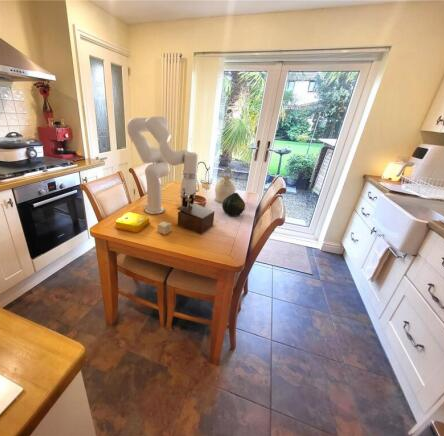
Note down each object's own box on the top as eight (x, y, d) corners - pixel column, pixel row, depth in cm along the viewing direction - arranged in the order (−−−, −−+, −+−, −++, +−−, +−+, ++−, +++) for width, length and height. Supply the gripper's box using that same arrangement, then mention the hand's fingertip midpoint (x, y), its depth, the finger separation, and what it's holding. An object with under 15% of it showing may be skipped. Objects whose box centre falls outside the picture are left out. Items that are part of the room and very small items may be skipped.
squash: (226, 212, 147) (242, 193, 146) (214, 204, 160) (229, 187, 159) (239, 223, 155) (253, 205, 154) (226, 215, 167) (240, 199, 167)
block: (157, 232, 132) (157, 224, 130) (163, 228, 135) (163, 221, 133) (164, 234, 129) (164, 226, 127) (170, 231, 133) (170, 223, 130)
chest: (177, 225, 140) (178, 211, 137) (190, 218, 150) (191, 205, 146) (200, 234, 131) (202, 220, 128) (212, 225, 141) (214, 212, 138)
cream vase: (219, 195, 192) (222, 165, 181) (237, 200, 184) (241, 168, 173) (210, 200, 180) (213, 168, 170) (228, 205, 172) (233, 172, 162)
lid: (177, 209, 136) (178, 201, 134) (190, 202, 146) (191, 195, 144) (202, 219, 128) (203, 211, 125) (214, 212, 138) (215, 204, 135)
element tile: (137, 233, 129) (137, 225, 127) (114, 228, 134) (114, 220, 132) (150, 222, 142) (150, 215, 140) (128, 218, 147) (128, 211, 145)
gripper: (193, 171, 140) (190, 199, 147) (175, 176, 127) (174, 207, 135) (203, 173, 136) (200, 202, 143) (186, 179, 123) (184, 211, 131)
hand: (187, 204), depth 139 cm, fingers closed on lid, 5 cm apart
